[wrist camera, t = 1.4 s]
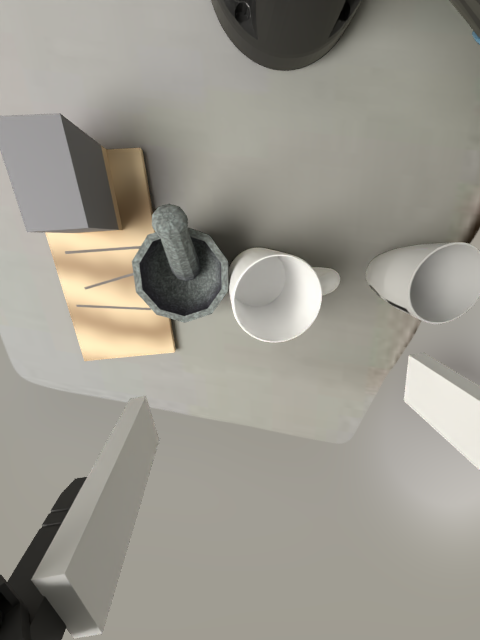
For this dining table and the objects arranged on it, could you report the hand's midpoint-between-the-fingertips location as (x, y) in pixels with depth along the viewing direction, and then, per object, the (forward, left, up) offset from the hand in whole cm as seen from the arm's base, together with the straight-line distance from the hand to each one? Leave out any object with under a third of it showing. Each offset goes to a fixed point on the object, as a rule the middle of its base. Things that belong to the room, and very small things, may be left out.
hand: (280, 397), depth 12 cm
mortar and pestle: (-5, -6, -22) cm, 24 cm away
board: (-5, -16, -22) cm, 28 cm away
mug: (-2, +4, -22) cm, 23 cm away
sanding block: (-13, -16, -21) cm, 29 cm away
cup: (-2, +20, -22) cm, 30 cm away
